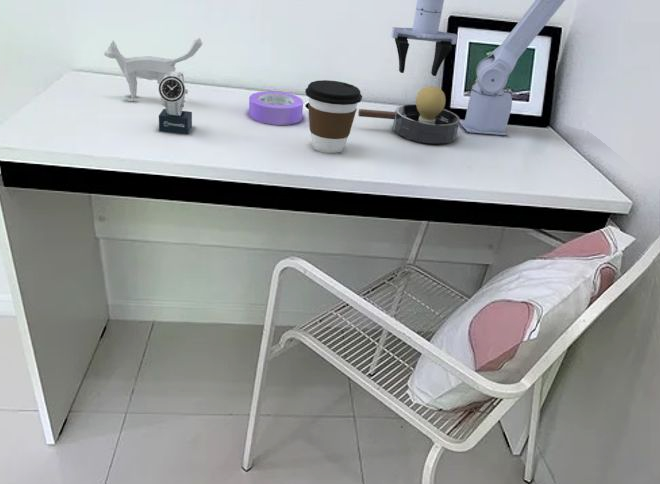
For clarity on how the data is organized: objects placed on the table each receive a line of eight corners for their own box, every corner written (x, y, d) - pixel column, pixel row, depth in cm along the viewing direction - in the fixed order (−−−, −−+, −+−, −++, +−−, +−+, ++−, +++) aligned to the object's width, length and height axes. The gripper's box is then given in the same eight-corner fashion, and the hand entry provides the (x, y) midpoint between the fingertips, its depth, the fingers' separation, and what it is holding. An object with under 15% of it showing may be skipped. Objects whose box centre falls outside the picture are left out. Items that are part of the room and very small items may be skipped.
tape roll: (261, 126, 133) (262, 108, 131) (240, 108, 141) (241, 91, 139) (310, 123, 138) (312, 106, 136) (288, 106, 147) (289, 90, 145)
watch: (156, 134, 122) (154, 76, 116) (166, 121, 129) (164, 65, 123) (186, 137, 122) (185, 80, 117) (194, 124, 129) (193, 69, 123)
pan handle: (393, 118, 140) (394, 110, 139) (394, 120, 138) (396, 113, 138) (357, 115, 138) (358, 107, 138) (358, 117, 137) (359, 110, 136)
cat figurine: (109, 93, 139) (104, 26, 132) (203, 101, 142) (203, 36, 135) (106, 100, 135) (100, 30, 128) (201, 107, 139) (202, 40, 131)
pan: (446, 125, 149) (450, 107, 146) (463, 147, 137) (467, 127, 135) (387, 121, 147) (390, 101, 144) (399, 142, 135) (402, 122, 132)
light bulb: (431, 139, 138) (440, 93, 133) (405, 131, 140) (413, 85, 135) (443, 132, 143) (452, 88, 137) (418, 124, 145) (426, 80, 140)
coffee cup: (328, 134, 134) (335, 77, 127) (366, 152, 128) (374, 92, 121) (289, 143, 127) (294, 82, 120) (326, 161, 121) (333, 99, 114)
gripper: (400, 9, 134) (389, 75, 141) (465, 17, 136) (452, 81, 143) (393, 4, 139) (384, 66, 147) (456, 11, 142) (444, 72, 149)
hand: (417, 73), depth 145 cm, fingers open, 7 cm apart
